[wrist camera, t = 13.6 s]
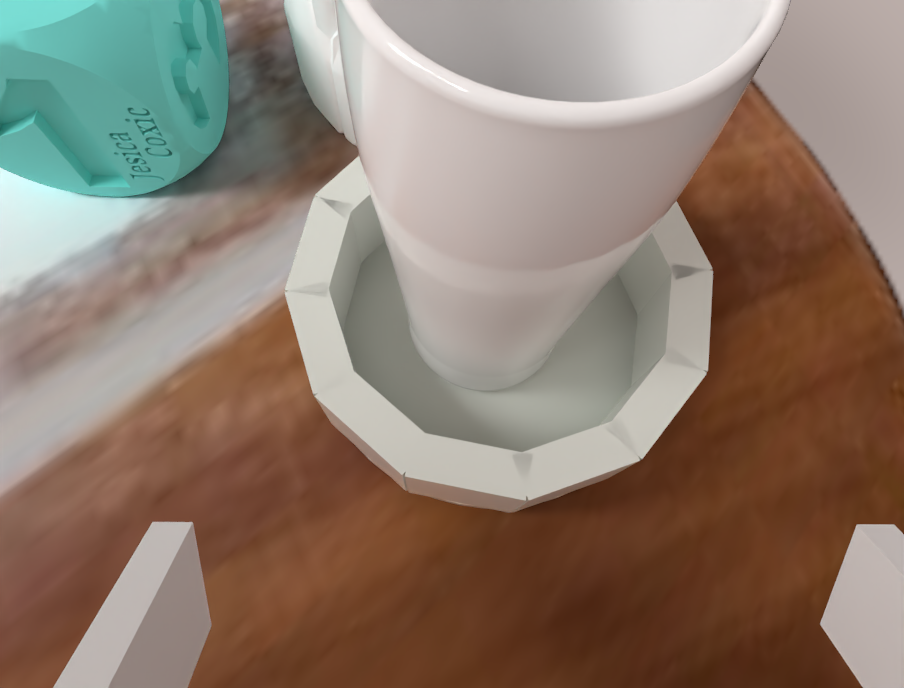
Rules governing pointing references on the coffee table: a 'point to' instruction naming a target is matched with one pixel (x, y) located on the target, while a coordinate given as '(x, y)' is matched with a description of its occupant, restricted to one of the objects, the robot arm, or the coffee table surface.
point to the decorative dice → (111, 91)
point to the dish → (507, 410)
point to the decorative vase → (320, 59)
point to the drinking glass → (532, 152)
